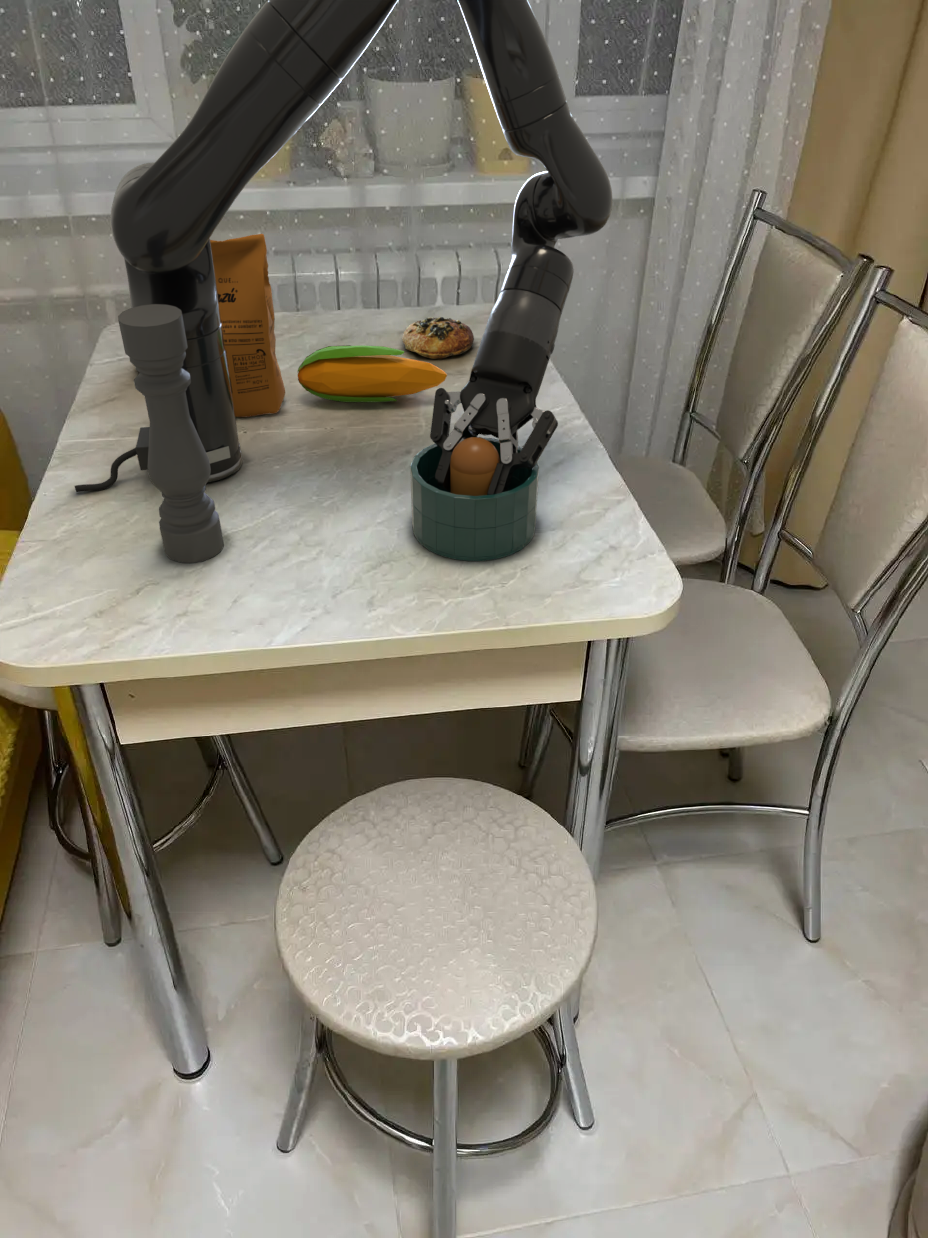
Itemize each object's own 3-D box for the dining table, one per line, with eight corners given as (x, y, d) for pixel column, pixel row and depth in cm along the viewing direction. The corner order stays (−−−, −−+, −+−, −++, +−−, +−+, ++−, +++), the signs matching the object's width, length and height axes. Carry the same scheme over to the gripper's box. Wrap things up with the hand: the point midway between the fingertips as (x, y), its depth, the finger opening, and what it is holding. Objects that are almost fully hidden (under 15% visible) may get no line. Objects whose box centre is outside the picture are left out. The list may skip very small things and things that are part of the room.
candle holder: (199, 524, 107) (157, 298, 92) (236, 544, 104) (199, 313, 89) (152, 548, 103) (100, 316, 88) (189, 569, 100) (142, 333, 85)
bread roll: (488, 339, 149) (485, 308, 146) (449, 373, 143) (445, 342, 139) (428, 327, 154) (424, 297, 151) (388, 360, 148) (382, 329, 144)
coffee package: (201, 387, 135) (173, 222, 122) (291, 387, 136) (273, 222, 122) (185, 419, 128) (154, 246, 114) (281, 419, 128) (261, 247, 114)
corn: (298, 333, 131) (447, 333, 131) (304, 384, 136) (447, 385, 136) (291, 358, 125) (446, 359, 126) (297, 411, 131) (447, 411, 131)
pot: (420, 566, 101) (419, 503, 96) (406, 500, 112) (404, 441, 107) (547, 555, 103) (551, 493, 98) (521, 491, 113) (523, 433, 109)
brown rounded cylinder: (454, 534, 104) (454, 453, 98) (447, 509, 108) (446, 430, 102) (502, 530, 105) (504, 449, 99) (493, 505, 109) (495, 426, 103)
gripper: (445, 317, 103) (394, 468, 102) (573, 340, 98) (521, 499, 97) (467, 348, 110) (419, 489, 109) (587, 371, 105) (539, 519, 104)
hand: (467, 493), depth 103 cm, fingers closed on brown rounded cylinder, 5 cm apart
